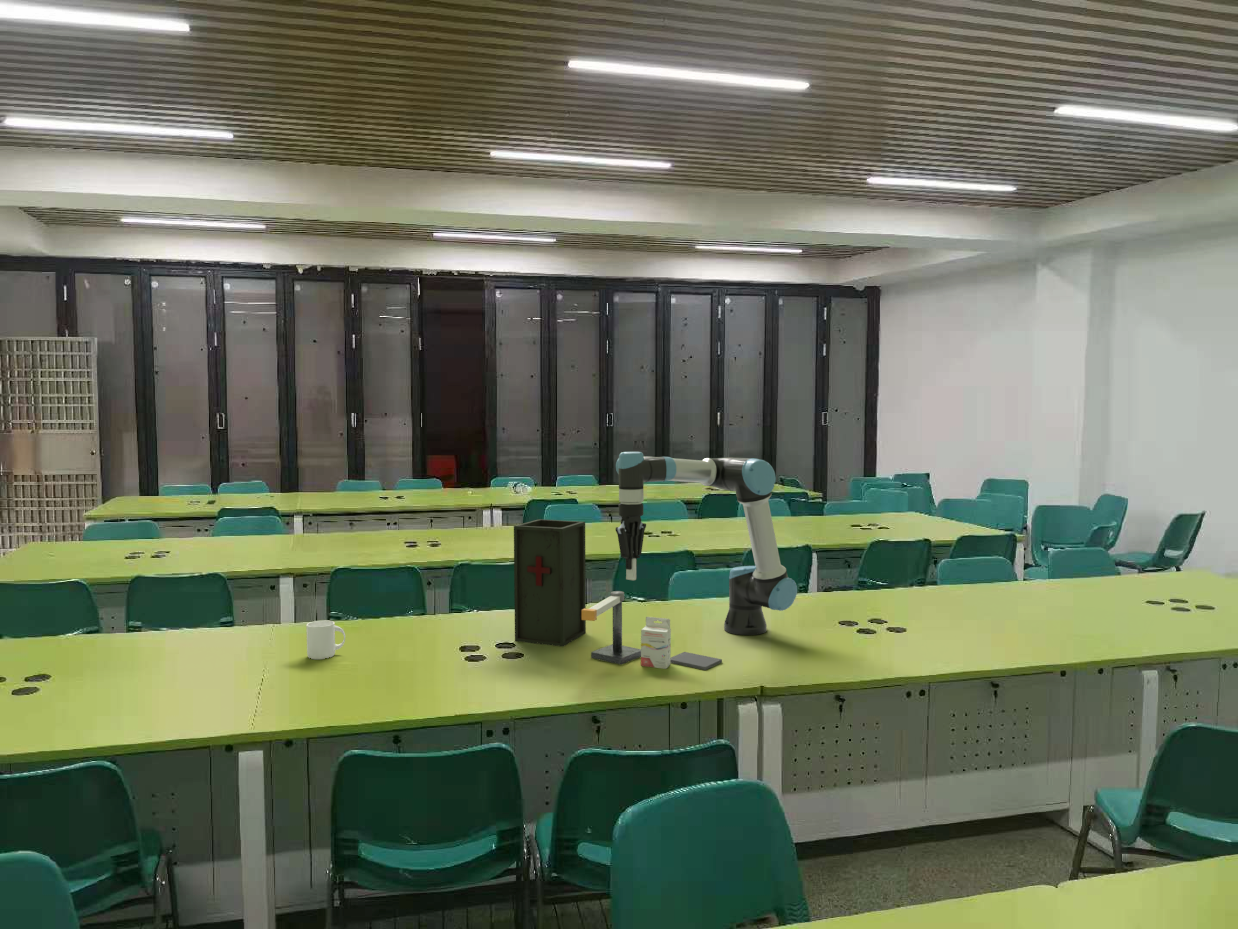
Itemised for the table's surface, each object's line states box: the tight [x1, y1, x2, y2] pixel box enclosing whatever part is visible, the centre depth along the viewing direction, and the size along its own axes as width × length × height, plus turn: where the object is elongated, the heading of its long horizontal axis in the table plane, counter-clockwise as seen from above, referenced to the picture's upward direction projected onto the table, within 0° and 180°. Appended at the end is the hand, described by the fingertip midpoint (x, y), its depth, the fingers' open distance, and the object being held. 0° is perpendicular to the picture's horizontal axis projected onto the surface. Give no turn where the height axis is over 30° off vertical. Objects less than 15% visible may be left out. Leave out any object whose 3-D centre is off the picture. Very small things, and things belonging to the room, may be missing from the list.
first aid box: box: [513, 518, 587, 648], centre depth 300 cm, size 18×18×40 cm
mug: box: [305, 619, 346, 660], centre depth 279 cm, size 9×12×11 cm
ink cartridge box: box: [640, 616, 672, 670], centre depth 268 cm, size 9×5×15 cm, turn 71°
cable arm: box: [582, 590, 625, 622], centre depth 265 cm, size 27×4×3 cm, turn 159°
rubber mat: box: [670, 651, 723, 671], centre depth 271 cm, size 10×14×1 cm
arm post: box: [590, 601, 641, 666], centre depth 277 cm, size 12×12×18 cm
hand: (631, 579), depth 263 cm, fingers closed
